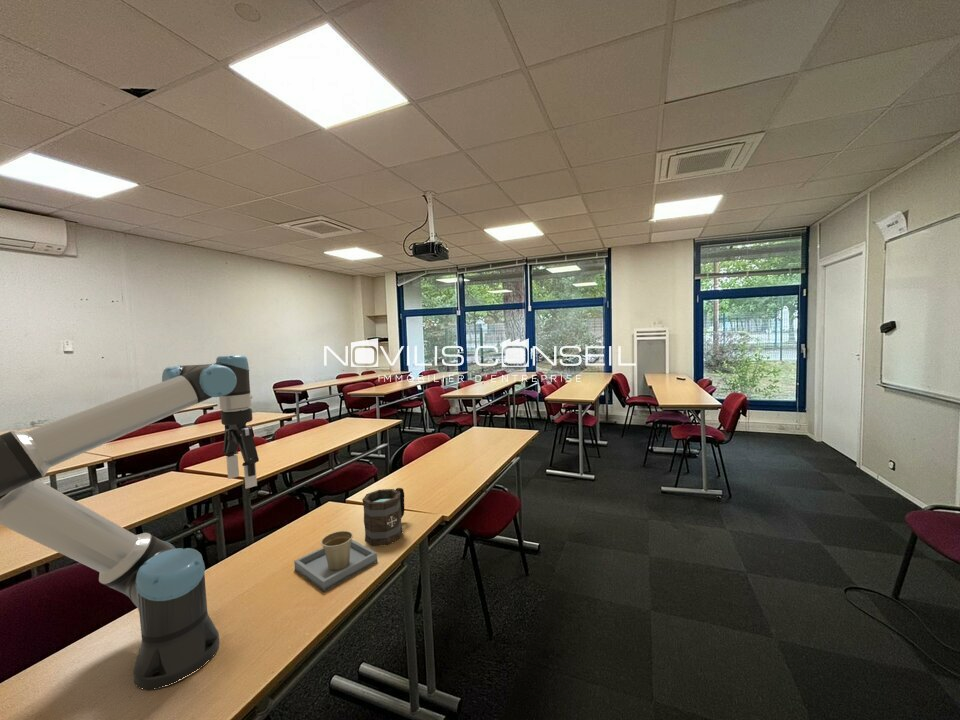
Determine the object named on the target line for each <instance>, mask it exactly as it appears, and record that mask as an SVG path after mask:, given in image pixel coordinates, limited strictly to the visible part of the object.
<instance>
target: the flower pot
mask: <svg viewBox="0 0 960 720" xmlns="http://www.w3.org/2000/svg"><path fill="white" fill-rule="evenodd" d="M353 537H354V534H353V533H352V532H351V531H348V530H338V531H334V532H331V533H329V534H327V535H326V536H324V537H322V539H321V540H320V545H321V546H322V548H324V550H325V554H326V558H327V563H328V567H329V569H330V570H340V569H343V568H345V567H346V566H347V565H348V564H349V561H350V545H351V541H352V540H353Z"/></svg>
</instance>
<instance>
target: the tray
mask: <svg viewBox="0 0 960 720" xmlns="http://www.w3.org/2000/svg"><path fill="white" fill-rule="evenodd" d="M293 562H294V571H295V572H297V573H298V574H299V575H300V576H302V577H304V578H305V579H306V580H308V581H309V582H310V583H312V584H313V585H314V586H315V587H316V588H318V589H319V590H321V591H322V592H324V593H326V592H327V591H329V590H330V589H332V588H334V587H336V586H337V585H339V584H341V583H343V582H345V581H347V580H348V579H350V578H352V577H354V576H355V575H357V574H359V573H361V572H362V571H364V570H365V568H366V569H367V568H370V567H371V566H373V565H374V564H376V563H378V552H377V551H374V550H373V549H370V548H369V547H367V546H365V545H363V544H362V543H360V542H358V541H356V540H354V539H352V541H351V545H350V561H349V564H348V565H347V566H346V567H345V568H343V569H340V570H330V569H329V567H328V563H327V558H326V554H325V550H324V548H323V547H321V548H318V549H316V550H315V551H312V552H310V553H307V554H305V555H304V556H302V557H300V558H297V559H296V560H293ZM375 562H376V563H375ZM372 564H373V565H372ZM370 565H371V566H370ZM358 572H359V573H358Z"/></svg>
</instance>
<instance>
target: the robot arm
mask: <svg viewBox="0 0 960 720" xmlns="http://www.w3.org/2000/svg"><path fill="white" fill-rule="evenodd" d="M248 361H249V360H248V358H247V356H245V355H243V354H240V355H223V356H217V357H216V360H215V363H207V364H190V365H180V364H179V365H176V366H168V367H165V369H163V372H162V375H161V382H158V383H155V384H153V385H150V386H148V387H145V388H143V389H140V390H137V391H134V392H131V393H128V394H126V395H123V396H121V397H118V398H115V399H113V400H110V401H107V402H106V401H105V402H104V403H102V404H101V403H100V404H99V405H95V406H93V407H90V408H87V409H85V410H82V411H80V412H76V413H74V414H71V415H68V416H66V417H63V418H60V419H57V420H56V421H52V422H49V423H47V424H45V425H41V426H38V427H36V428H33V429H31V430H28V431H25V432H24V431H16V430H11V431H8V432H5V433H2V434H0V525H1V526H2V527H5V528H6V529H9V530H11V531H14V532H15V533H17V534H19V535H21V536H23V537H25V538H28V539H29V540H31V541H33V542H36V543H38V544H40V545H42V546H44V547H46V548H48V549H50V550H53V551H54V552H57V553H59V554H61V555H64V556H65V557H67V558H69V559H71V560H73V561H76V562H77V563H80V564H82V565H84V566H86V567H88V568H90V569H92V570H94V571H95V572H98V573H99V575H98V582H99V583H100V584H102V585H104V586H107V587H108V588H110V589H113V590H114V591H117V592H119V593H122V594H123V595H125V596H126V597H128V598H129V599H130V601H131V602H132V603H133V605H134V606H135V607H136V608H137V610H138V613H139V621H140V622H139V624H140V625H139V626H140V631H141V632H140V633H141V643H140V647H139V650H138V654H137V657H136V661H135V664H134V667H133V681H134V684H136V685H137V686H138V687H140V688H143V689H142V690H144V689H154V688H159V687H162V686H165V685H169V684H171V683H174V682H176V681H178V680H179V679H182V678H183V677H185V676H187V675H189V674H191V673H192V672H194V671H196V670H197V669H199V668H200V667H201V666H203V665H204V664H205V663H206V662H207V661H208V660H210V659H211V658H212V659H213V658H214V656H215V655H216V653H217V652H218V650H219V647H220V635H219V631H218V629H217V627H216V626H215V624H214V622H213V621H212V620H213V619H211V617H210V615H209V612H208V604H207V603H208V602H207V601H208V600H207V590H206V576H205V571H206V566H205V562H204V560H203V556H202V554H201V552H199V551H198V550H197V549H195V548H191V547H186V548H183V547H181V548H180V547H178V548H176V547H175V546H174V545H173V544H171V543H170V542H168V541H166V540H162V539H159V538H158V537H156V536H154V535H152V534H151V533H149V532H143V533H140V534H135V533H133V532H132V531H129V530H128V529H125V528H124V527H122V526H120V525H119V524H117V523H115V522H114V521H111V520H110V519H108V518H106V517H105V516H103V515H101V514H99V513H98V512H95V511H94V510H92V509H91V508H89V507H87V506H85V505H83V504H81V503H80V502H78V501H76V500H75V499H73V498H71V497H70V496H68V495H66V494H64V493H62V492H60V491H59V490H57V489H56V488H54V487H52V486H50V485H48V484H46V483H44V482H43V481H41V480H39V479H41V478H43V477H45V476H46V475H47V473H48V470H49V469H50V468H52V467H54V466H57V465H59V464H61V463H63V462H66V461H68V460H71V459H74V458H75V457H78V456H80V455H82V454H84V453H87V452H89V451H91V450H95V449H96V448H98V447H100V446H102V445H105V444H107V443H110V442H111V441H115V440H117V439H118V438H121V437H123V436H127V435H129V434H130V433H133V432H136V431H138V430H140V429H142V428H144V427H147V426H149V425H151V424H154V423H155V422H158V421H160V420H163V419H165V418H167V417H169V416H173V415H174V414H177V413H178V412H181V411H183V410H186V409H188V408H191V407H192V406H195V405H197V404H200V403H203V402H205V401H207V400H209V399H211V398H219V409H220V410H221V412H220V420H221V421H220V423H221V424H222V425H223V426H224V438H223V448H222V453H223V454H224V455H225V457H226V471H227V479H228V480H230V479H234V478H237V477H240V470H239V457H238V454H239V451H238V447H239V450H240V453H241V455H242V459H243V462H242V465H241V466H242V467H243V475H244V487H245V489H246V490H247V489H250V488H253V487H257V486H258V480H257V479H258V477H257V468H256V467H257V466H256V464H257V462H260V460H259V455H258V450H257V447H256V444H255V440H254V437H253V436H254V435H253V429H252V426H251V427H247V424H248V423H250V422H252V421H253V409H252V408H250V407H251V406H252V399H253V396H252V395H251V387H250V385H251V384H250V368H249V362H248ZM214 654H215V655H214ZM213 655H214V656H213ZM212 659H211V660H212ZM211 660H210V661H211ZM204 666H205V665H204ZM204 666H203V667H204ZM136 685H135V686H136ZM137 686H136V687H137ZM138 687H137V688H138ZM140 688H139V689H140ZM154 690H155V689H154Z"/></svg>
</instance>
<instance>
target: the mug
mask: <svg viewBox="0 0 960 720" xmlns="http://www.w3.org/2000/svg"><path fill="white" fill-rule="evenodd" d="M361 501H362V505H363V524H364V542H366V543H367V544H368V545H370V546H371V547H380V545H387V546H389V545H391V544H393V543H395V541H396V542H398V541H400V540H399V539H401V538H400V537H402V535H403V533H404V531H403V527H402V526H403V525H402V518H403V517H404V515H405V492H404V488H402V487H396V489H394V488H388V489H386V488H385V489H378V490H373V491H371V492H368V493H366V494H365V495H364V496H363V498H362V500H361ZM402 532H403V533H402ZM397 540H398V541H397ZM392 542H393V543H392ZM388 544H389V545H388Z"/></svg>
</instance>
